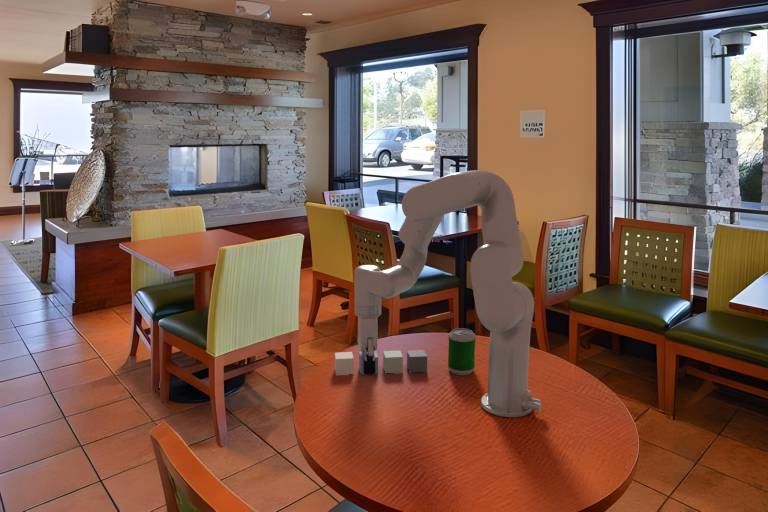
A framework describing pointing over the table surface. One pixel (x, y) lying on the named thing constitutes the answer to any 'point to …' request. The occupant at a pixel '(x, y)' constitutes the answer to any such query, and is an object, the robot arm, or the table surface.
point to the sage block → (392, 361)
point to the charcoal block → (417, 361)
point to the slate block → (361, 362)
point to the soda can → (461, 351)
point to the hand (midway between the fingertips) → (368, 369)
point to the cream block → (344, 363)
